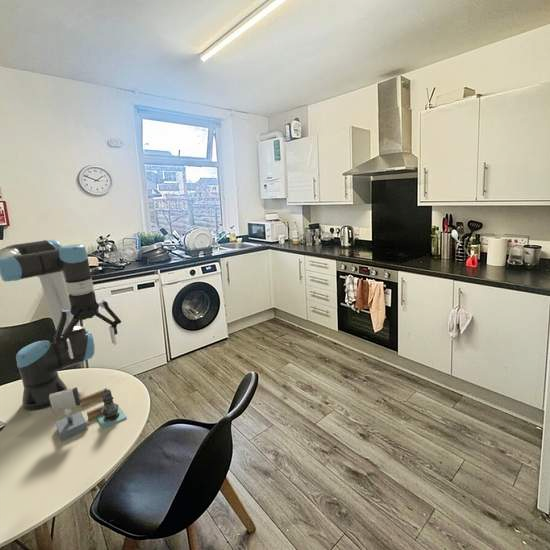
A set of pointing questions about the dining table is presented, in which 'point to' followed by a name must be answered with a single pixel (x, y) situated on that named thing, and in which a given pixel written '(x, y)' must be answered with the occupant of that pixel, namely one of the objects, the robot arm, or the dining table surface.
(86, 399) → the block
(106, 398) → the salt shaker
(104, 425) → the coaster
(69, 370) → the dining table surface
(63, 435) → the block
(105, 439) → the dining table surface
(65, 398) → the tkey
